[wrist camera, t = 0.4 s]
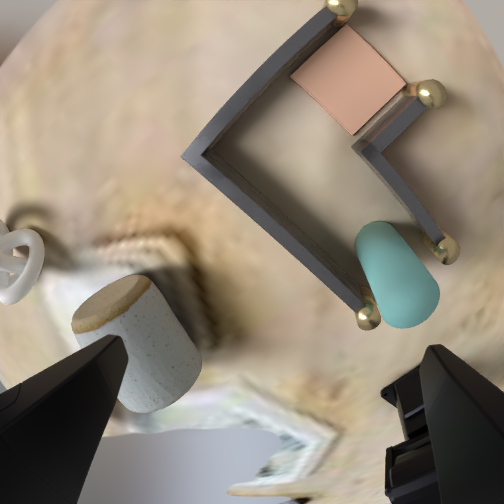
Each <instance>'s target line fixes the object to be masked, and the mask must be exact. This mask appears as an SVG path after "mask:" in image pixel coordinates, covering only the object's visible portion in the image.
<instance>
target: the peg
mask: <svg viewBox="0 0 504 504" xmlns="http://www.w3.org/2000/svg"><path fill="white" fill-rule="evenodd" d="M355 251H356V254H357V256H358V259H359V261H360V263H361V265H362V268H363V270H364V272H365V275H366V277H367V280H368V282H369V284H370V287H371V289H372V292H373V294H374V297H375V299H376V302H377V304H378V307H379V309H380V312H381V314H382V317H383V319H384V320H385V322H386V323H387V324H389V325H390V326H392V327H395V328H401V329H403V328H410V327H414V326H416V325H418V324H420V323H422V322H423V321H425V320H426V319H427V318H428V317H429V316H430V315H431V314H432V313H433V312H434V310H435V309H436V307H437V305H438V302H439V297H440V290H439V286H438V284H437V282H436V281H435V280H434V278H433V277H432V275H431V274H430V273H429V271H428V270H427V269H426V267H425V266H424V265H423V263H422V262H421V261H420V259H419V258H418V257H417V256H416V254H415V253H414V252H413V250H412V249H411V248H410V247H409V245H408V244H407V243H406V242H405V240H404V239H403V238H402V237H401V235H400V234H399V233H398V232H397V230H396V229H395V228H394V227H393V226H392V225H390V224H389V223H386V222H383V221H376V222H372V223H369V224H367V225H366V226H364V227H363V228H362V229H361V230H360V232H359V233H358V235H357V237H356V240H355Z"/></svg>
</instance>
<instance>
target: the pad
mask: <svg viewBox="0 0 504 504" xmlns="http://www.w3.org/2000/svg"><path fill="white" fill-rule="evenodd" d="M290 78H291V79H293V80H294V81H295V82H296V83H297V84H298V85H299V86H300V87H302V88H303V89H304V90H305V91H306V92H307V93H308V94H309V95H310V96H312V97H313V98H314V99H315V100H316V101H317V102H318V103H319V104H320V105H321V106H322V107H323V108H324V109H325V110H326V111H327V112H328V113H329V114H330V115H331V116H332V117H333V118H334V119H336V120H337V121H338V122H339V123H340V125H341V126H342V127H343V128H344V129H345V130H346V131H347V132H348V133H349V134H350V135H351V136H352V135H353V134H354V133H356V132H357V131H358V130H359V129H360V128H361V127H362V126H363V125H364V124H365V123H366V122H367V121H368V120H369V119H370V118H371V117H372V116H373V115H374V114H375V113H376V112H377V111H378V110H379V109H380V108H381V107H382V106H383V105H385V104H386V103H387V102H388V101H389V100H390V99H391V98H392V97H393V96H394V95H395V94H396V93H397V92H398V91H399V90H400V89H401V88H402V87H403V86H404V85H405V84H406V83H405V82H404V81H403V80H402V78H401V77H400V76H399V75H398V74H397V73H396V72H395V71H394V70H393V69H392V68H391V66H390V65H389V64H388V63H387V62H386V61H385V60H384V59H383V58H382V57H381V56H380V55H379V54H378V53H377V52H376V51H375V50H374V49H373V48H372V47H371V46H370V45H369V44H368V43H367V42H366V41H365V40H364V39H362V38H361V37H360V36H359V35H358V34H357V33H356V32H355V31H354V30H353V29H351V28H350V27H349V26H348V25H347V24H346V25H345V26H344V27H343V28H342V29H340V30H339V31H338V32H337V33H336V34H335V35H334V36H333V37H331V38H330V39H329V40H328V41H327V42H326V43H325V44H324V45H323V46H321V47H320V48H319V49H318V50H317V51H316V52H315V53H314V54H313V55H312V56H311V57H310V58H309V59H308V60H306V61H305V62H304V63H303V64H302V65H301V66H300V67H299V68H298V69H297V70H296V71H295V72H294V73H293V74H292V75H291V76H290Z"/></svg>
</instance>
